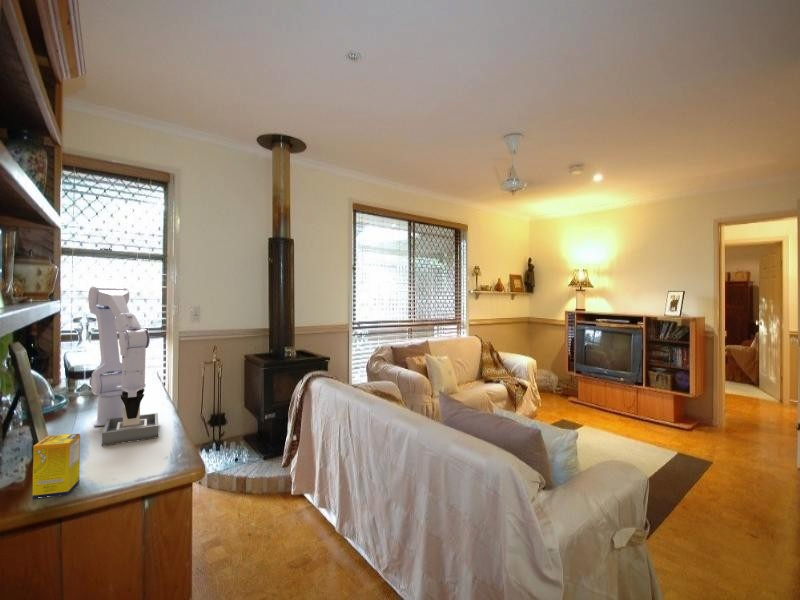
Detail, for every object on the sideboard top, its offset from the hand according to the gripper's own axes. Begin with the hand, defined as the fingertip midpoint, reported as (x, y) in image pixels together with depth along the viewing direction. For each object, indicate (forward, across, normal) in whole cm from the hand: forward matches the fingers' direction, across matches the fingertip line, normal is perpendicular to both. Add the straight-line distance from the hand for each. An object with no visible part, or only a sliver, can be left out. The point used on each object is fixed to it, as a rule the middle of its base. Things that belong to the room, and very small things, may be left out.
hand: (132, 416), depth 114 cm
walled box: (+5, 0, 0) cm, 5 cm away
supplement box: (+6, +32, -12) cm, 35 cm away
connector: (+2, 0, 0) cm, 2 cm away
